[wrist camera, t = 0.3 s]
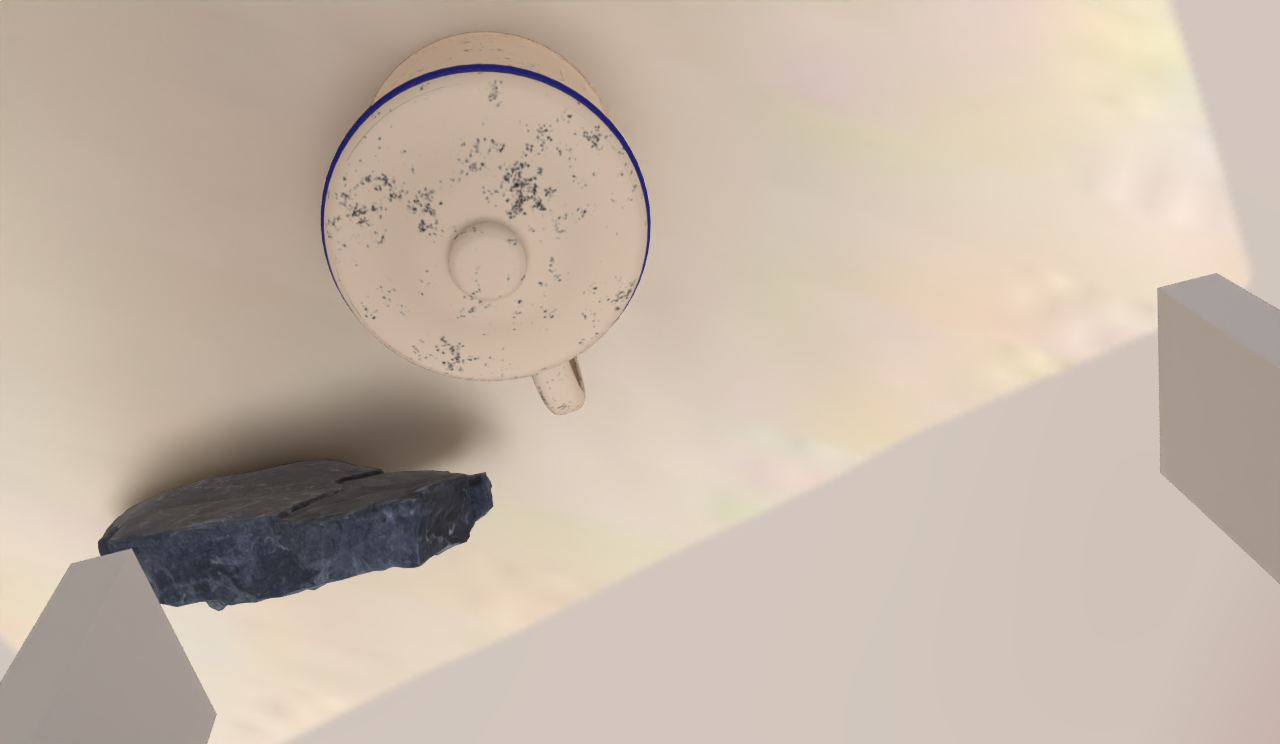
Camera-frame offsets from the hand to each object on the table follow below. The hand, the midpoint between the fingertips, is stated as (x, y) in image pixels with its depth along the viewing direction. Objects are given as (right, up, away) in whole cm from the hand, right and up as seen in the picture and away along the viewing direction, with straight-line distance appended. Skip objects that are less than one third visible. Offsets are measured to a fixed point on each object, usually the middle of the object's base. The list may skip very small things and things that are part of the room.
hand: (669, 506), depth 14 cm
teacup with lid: (-5, +8, +25) cm, 27 cm away
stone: (-13, -1, +29) cm, 32 cm away
